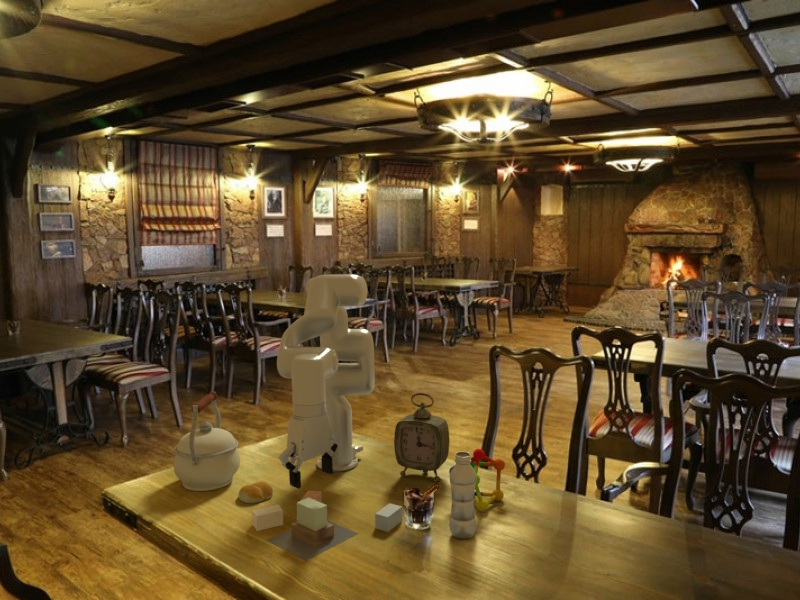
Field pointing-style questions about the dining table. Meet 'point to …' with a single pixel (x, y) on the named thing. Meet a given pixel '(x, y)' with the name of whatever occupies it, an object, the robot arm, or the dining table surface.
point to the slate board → (305, 549)
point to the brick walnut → (312, 534)
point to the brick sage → (312, 514)
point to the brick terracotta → (313, 495)
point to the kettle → (206, 452)
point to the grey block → (388, 517)
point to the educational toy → (475, 463)
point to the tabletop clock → (421, 440)
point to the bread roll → (255, 492)
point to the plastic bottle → (462, 497)
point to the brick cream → (267, 517)
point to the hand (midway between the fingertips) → (311, 479)
